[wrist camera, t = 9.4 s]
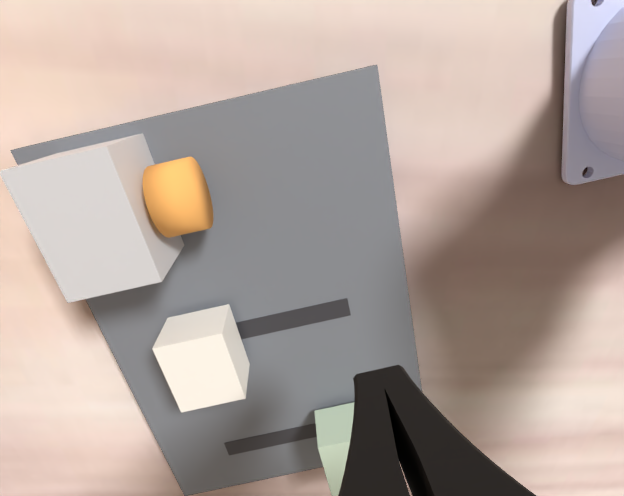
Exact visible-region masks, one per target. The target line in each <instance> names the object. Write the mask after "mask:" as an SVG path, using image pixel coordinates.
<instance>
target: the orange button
mask: <svg viewBox="0 0 624 496" xmlns="http://www.w3.org/2000/svg"><path fill="white" fill-rule="evenodd" d="M143 192H144V197H145V201H146V205H147V208H148V211H149V214H150V216H151V218H152V220H153V222H154V224H155V226H156V227H157V229H158V230H159V231H160V233H161V234H162V235H164V236H165V237H168V238H170V237H175V236H179V235H183V234H188V233H192V232H197V231H201V230H206V229H210V228H211V227H212V225H213V206H212V201H211V196H210V192H209V188H208V185H207V182H206V179H205V177H204V174H203V172H202V170H201V168H200V166H199V164H198V163H197V161H196V160H195V159H194V158H193V157H186V158H181V159H177V160H173V161H168V162H164V163H160V164H155V165H151V166H148V167H146V168H145V170H144V173H143Z"/></svg>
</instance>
